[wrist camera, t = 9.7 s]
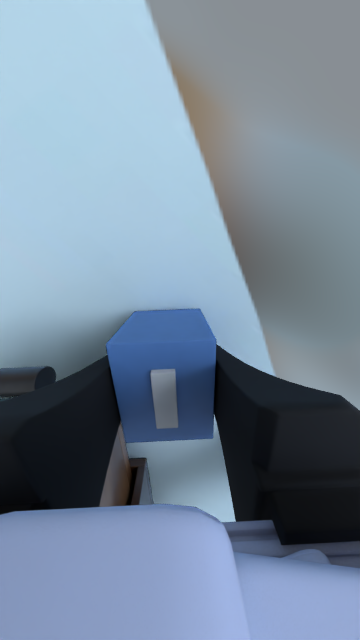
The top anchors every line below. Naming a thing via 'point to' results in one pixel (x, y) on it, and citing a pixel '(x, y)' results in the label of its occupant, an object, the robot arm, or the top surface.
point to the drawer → (119, 470)
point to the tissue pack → (164, 375)
